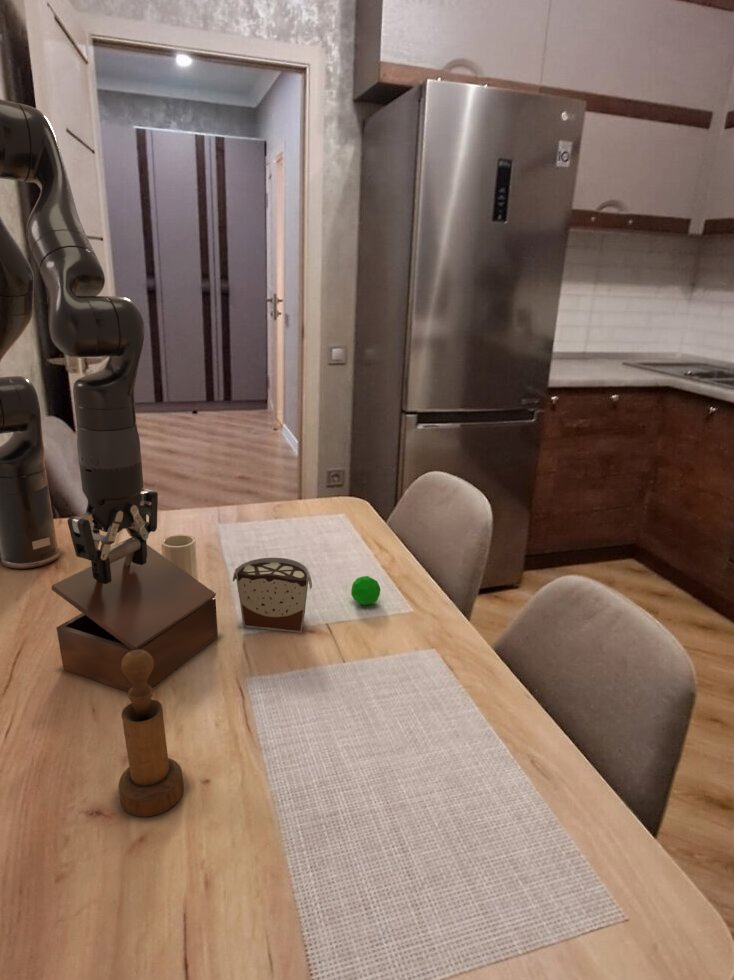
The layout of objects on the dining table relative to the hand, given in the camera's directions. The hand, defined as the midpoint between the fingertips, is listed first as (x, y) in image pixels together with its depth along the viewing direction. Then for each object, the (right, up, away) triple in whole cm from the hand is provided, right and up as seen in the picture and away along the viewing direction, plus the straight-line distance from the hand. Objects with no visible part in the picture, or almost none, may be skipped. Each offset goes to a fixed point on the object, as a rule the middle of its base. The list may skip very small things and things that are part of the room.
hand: (121, 571), depth 93 cm
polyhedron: (+33, -7, +22) cm, 40 cm away
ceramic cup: (+2, -5, +21) cm, 22 cm away
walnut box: (+2, -12, +4) cm, 13 cm away
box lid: (+2, -3, 0) cm, 4 cm away
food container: (+19, -9, +15) cm, 26 cm away
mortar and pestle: (+12, -23, -21) cm, 33 cm away
